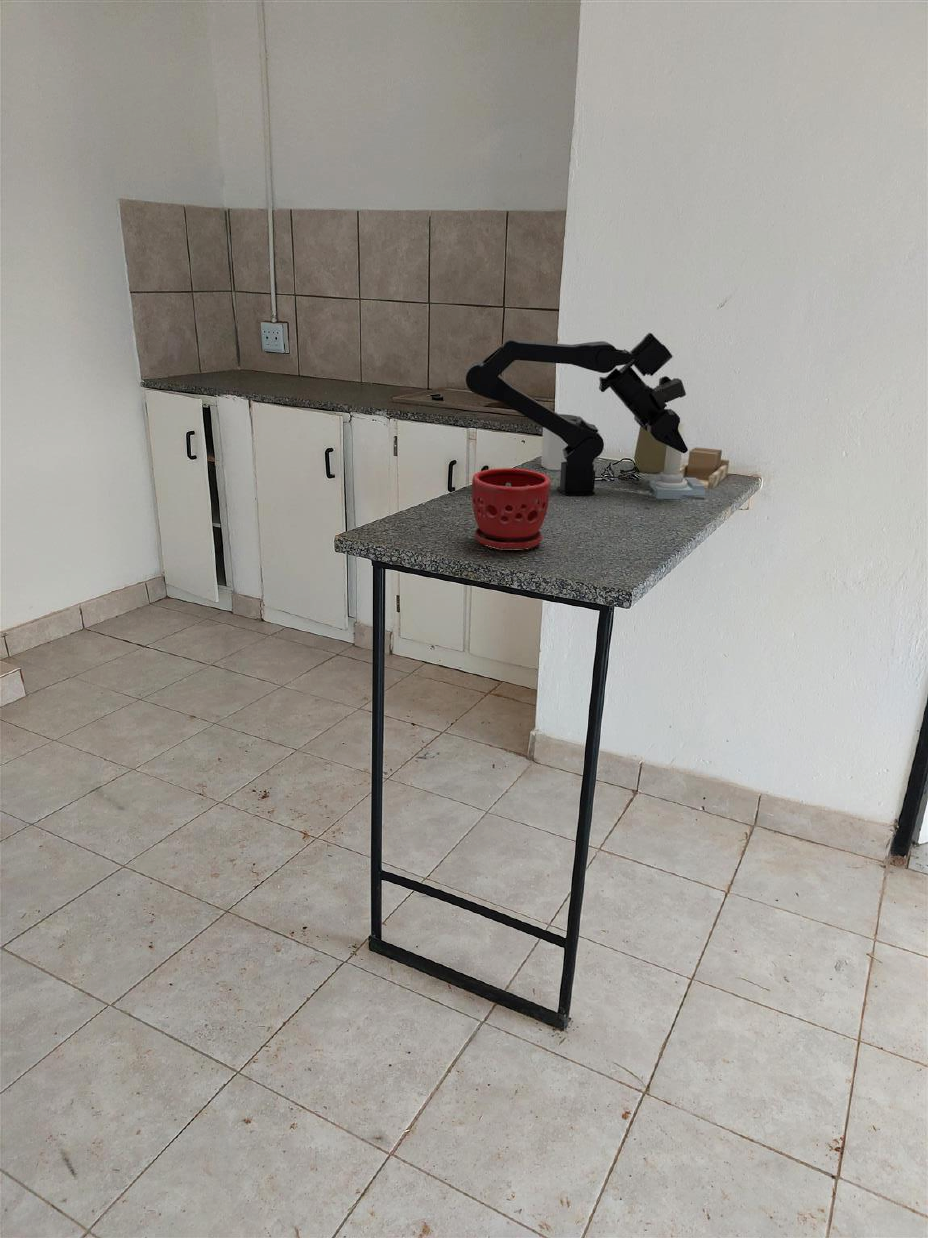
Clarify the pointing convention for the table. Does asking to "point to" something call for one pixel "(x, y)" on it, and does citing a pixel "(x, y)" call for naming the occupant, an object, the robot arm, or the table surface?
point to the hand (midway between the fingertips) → (681, 447)
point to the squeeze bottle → (649, 453)
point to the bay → (714, 478)
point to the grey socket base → (678, 489)
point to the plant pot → (509, 507)
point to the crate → (703, 462)
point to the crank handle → (672, 463)
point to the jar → (553, 448)
